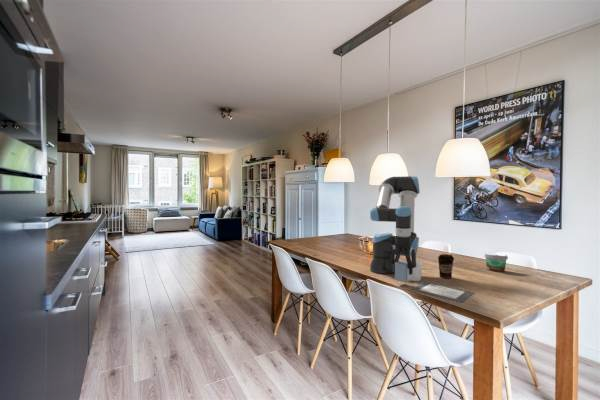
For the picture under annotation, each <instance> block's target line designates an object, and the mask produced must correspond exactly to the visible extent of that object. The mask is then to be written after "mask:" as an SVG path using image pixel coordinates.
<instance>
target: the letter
mask: <svg viewBox="0 0 600 400" xmlns="http://www.w3.org/2000/svg"><path fill="white" fill-rule="evenodd" d="M420 290H422V291H426V292H430V293H434V294H438V295H442V296H446V297H450V298H454V299H456V298H457V297H459V296H460V295H461V294H463V293H464V291H459V290H455V289H451V288H446V287H442V286H437V285H433V284H429V285H427V286H425V287H423V288H421V289H420Z"/></svg>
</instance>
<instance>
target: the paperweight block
mask: <svg viewBox="0 0 600 400" xmlns="http://www.w3.org/2000/svg"><path fill="white" fill-rule="evenodd" d="M407 268H409V267H408V264H407V261H403V260H399V261H398V262H396V263H395V272H394V280H395V281H396V280H397V281H399V282H403V283H407V282H408V281H407Z"/></svg>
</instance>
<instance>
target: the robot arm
mask: <svg viewBox="0 0 600 400" xmlns="http://www.w3.org/2000/svg"><path fill="white" fill-rule="evenodd" d="M392 195H398V197H399V199H400V200H399V201H400V202H399V203H400V204H399V205H400V206H396V207H395V208H390V206H391V200H392ZM418 195H420V183H419V178H418V176H414V175H413V176H412V175H409V176H391V177H389V178H386V179H385V180H383V182H381V184H379V188H378V198H377V201H376V204H375V207H372V208H371V209H370V212H369V213H370V214H369V215H370V220H371V221H372V222H385V223H386V222H387V223H389V222H390V223H391V222H392V223H393V222H394V223H395V235H393V233H391V232H383V233H377V234H375V235H373V236H372V260H371V263H370V265H369V271H370V272H372V273H375V274H381V275H388V274H390V275H391V274H395V263H396V262H398V261H400V257H402V256H403V257H404V256H405V260H406V262H407V264H408V267H409V268H407V282H410V281H411V274H412V271H413V268H415V267H416V261H417V254H418V250H419V242H420V237H419V236H418V235H417V233H416V232H415V199H416V198H417V197H418ZM411 260H412V262H411Z"/></svg>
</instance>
